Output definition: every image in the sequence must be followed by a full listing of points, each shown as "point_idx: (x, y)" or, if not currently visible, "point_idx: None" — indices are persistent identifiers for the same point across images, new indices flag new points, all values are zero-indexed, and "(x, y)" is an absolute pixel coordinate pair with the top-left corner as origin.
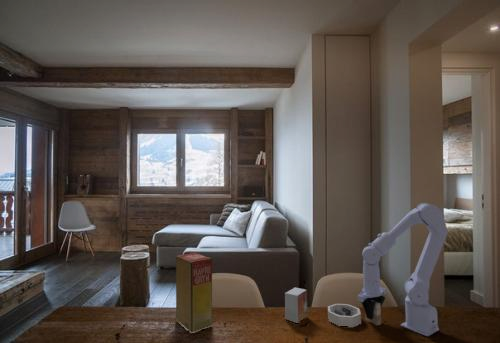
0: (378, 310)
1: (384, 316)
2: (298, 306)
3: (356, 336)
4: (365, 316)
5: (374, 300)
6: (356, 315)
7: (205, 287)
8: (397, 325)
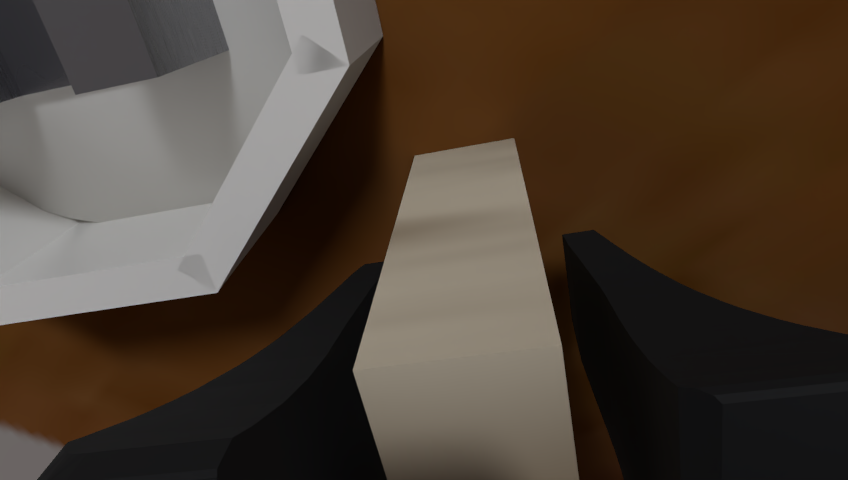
0: None
1: (839, 177)
2: None
3: (38, 407)
4: (409, 183)
5: (647, 478)
6: (91, 309)
7: None
8: None
